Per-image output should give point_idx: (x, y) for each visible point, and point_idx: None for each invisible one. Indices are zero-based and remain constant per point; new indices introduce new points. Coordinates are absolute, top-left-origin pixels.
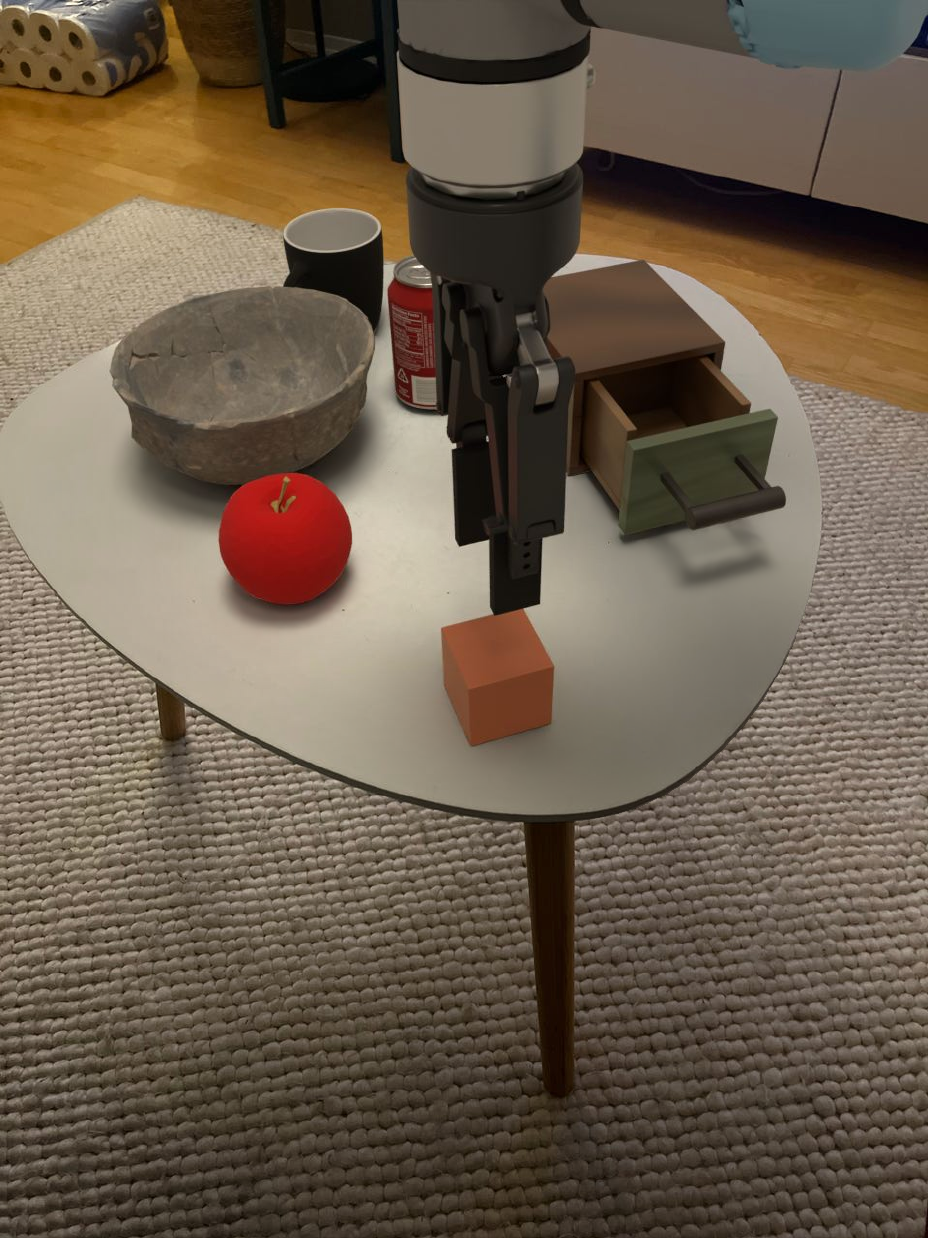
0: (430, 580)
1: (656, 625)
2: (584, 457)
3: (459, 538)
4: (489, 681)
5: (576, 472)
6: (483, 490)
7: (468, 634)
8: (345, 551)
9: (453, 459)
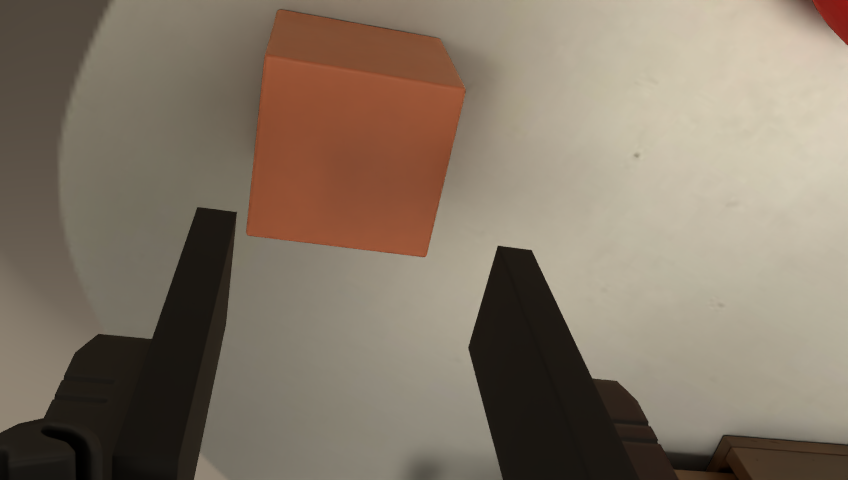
0: (684, 142)
1: (370, 391)
2: (729, 477)
3: (502, 263)
4: (264, 104)
5: (721, 447)
6: (516, 428)
7: (413, 130)
8: (831, 16)
9: (611, 461)
